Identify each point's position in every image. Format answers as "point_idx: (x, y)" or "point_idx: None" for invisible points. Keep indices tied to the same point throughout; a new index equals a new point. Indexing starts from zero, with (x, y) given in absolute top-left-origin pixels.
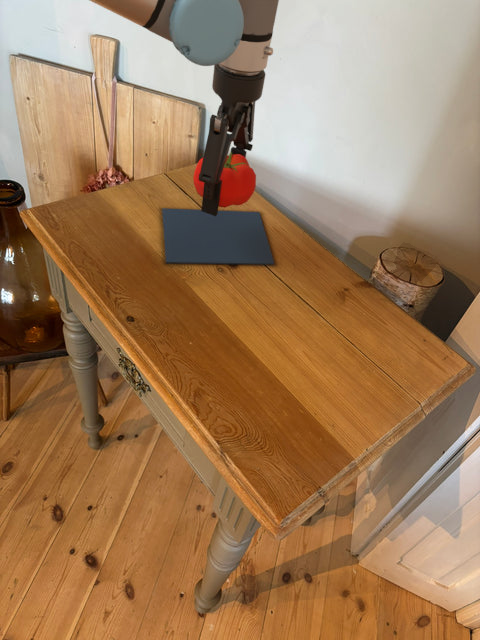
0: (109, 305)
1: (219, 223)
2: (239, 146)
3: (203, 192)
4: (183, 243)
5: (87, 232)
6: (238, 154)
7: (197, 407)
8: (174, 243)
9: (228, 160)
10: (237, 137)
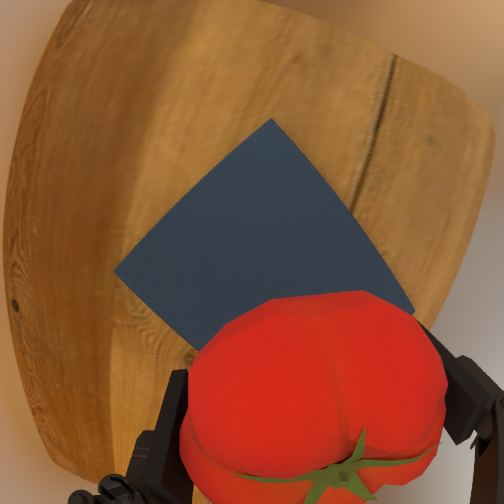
0: (5, 265)
1: (324, 275)
2: (485, 425)
3: (155, 427)
4: (188, 260)
5: (79, 77)
6: (429, 461)
7: (34, 412)
8: (171, 244)
9: (375, 462)
10: (487, 478)
